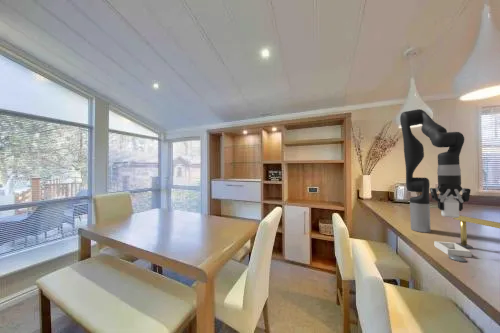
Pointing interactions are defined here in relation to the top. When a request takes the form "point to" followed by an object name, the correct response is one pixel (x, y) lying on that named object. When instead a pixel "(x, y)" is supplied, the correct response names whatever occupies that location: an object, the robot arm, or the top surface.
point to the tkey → (477, 221)
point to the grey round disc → (457, 258)
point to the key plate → (465, 246)
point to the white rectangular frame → (455, 251)
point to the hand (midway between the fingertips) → (450, 210)
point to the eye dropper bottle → (450, 207)
